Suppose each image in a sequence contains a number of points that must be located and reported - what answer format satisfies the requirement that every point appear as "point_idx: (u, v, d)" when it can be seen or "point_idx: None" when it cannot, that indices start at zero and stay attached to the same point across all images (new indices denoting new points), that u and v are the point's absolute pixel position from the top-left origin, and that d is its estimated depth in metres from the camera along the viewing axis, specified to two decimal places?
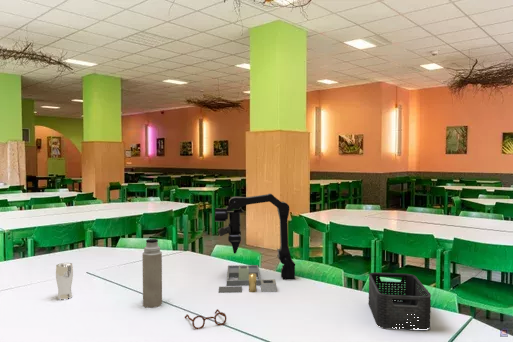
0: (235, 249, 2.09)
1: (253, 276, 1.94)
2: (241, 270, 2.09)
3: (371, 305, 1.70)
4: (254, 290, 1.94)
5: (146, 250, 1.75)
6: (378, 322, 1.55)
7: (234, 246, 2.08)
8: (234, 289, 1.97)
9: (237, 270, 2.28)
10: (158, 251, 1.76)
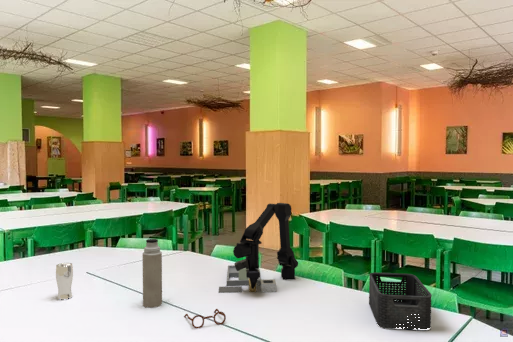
0: (253, 284, 1.93)
1: None
2: (241, 270, 2.09)
3: (371, 305, 1.70)
4: (254, 290, 1.94)
5: (146, 250, 1.75)
6: (379, 322, 1.55)
7: (252, 281, 1.92)
8: (234, 289, 1.97)
9: None
10: (158, 251, 1.76)
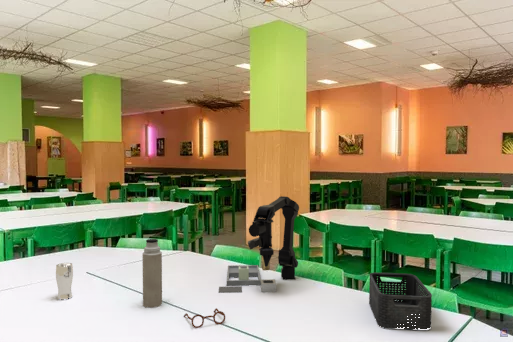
0: (266, 262, 1.95)
1: None
2: (241, 270, 2.09)
3: (372, 305, 1.70)
4: (267, 268, 1.96)
5: (146, 250, 1.75)
6: (379, 322, 1.55)
7: (265, 259, 1.94)
8: (234, 289, 1.97)
9: (237, 270, 2.28)
10: (158, 251, 1.76)
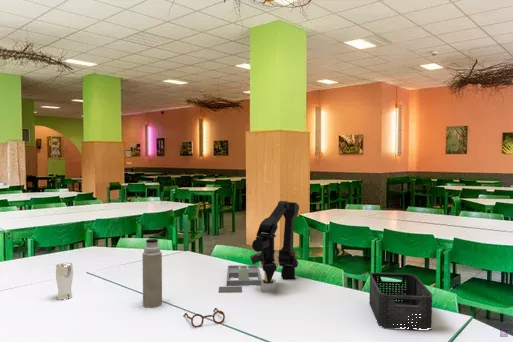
0: (269, 278, 1.93)
1: None
2: (241, 270, 2.09)
3: (372, 305, 1.70)
4: None
5: (146, 250, 1.75)
6: (380, 322, 1.55)
7: (268, 275, 1.93)
8: (234, 289, 1.97)
9: (237, 270, 2.28)
10: (158, 251, 1.76)
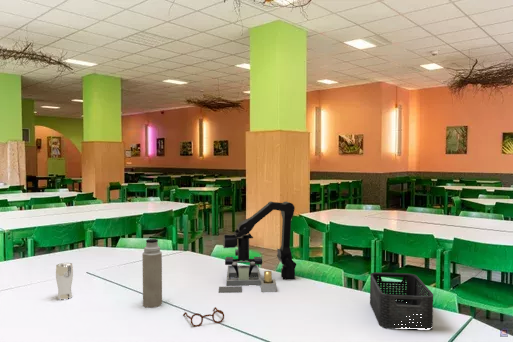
0: None
1: (269, 273, 1.96)
2: (241, 270, 2.09)
3: (373, 305, 1.70)
4: None
5: (146, 250, 1.75)
6: (381, 322, 1.55)
7: None
8: (234, 289, 1.97)
9: None
10: (158, 251, 1.76)
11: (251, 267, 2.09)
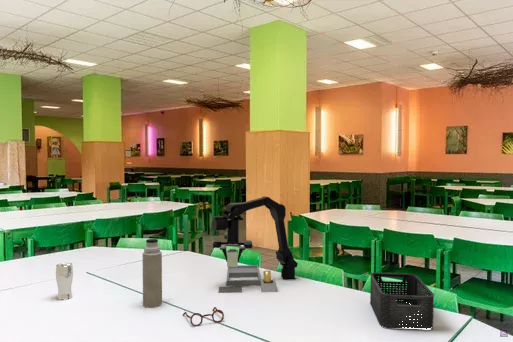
0: (225, 257, 2.00)
1: (268, 272, 1.96)
2: (230, 253, 1.98)
3: (373, 305, 1.70)
4: None
5: (146, 250, 1.75)
6: (381, 322, 1.55)
7: None
8: (234, 289, 1.97)
9: (237, 270, 2.28)
10: (158, 251, 1.76)
11: (240, 251, 1.98)
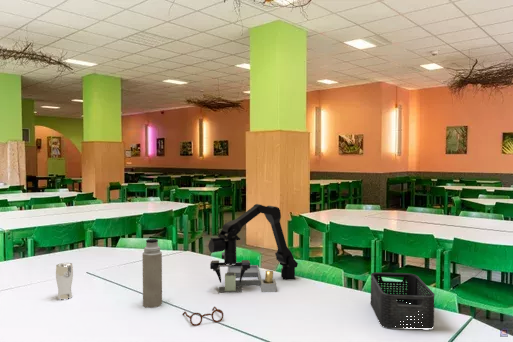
0: None
1: (271, 272, 1.97)
2: (227, 277, 1.95)
3: (374, 305, 1.70)
4: None
5: (146, 250, 1.75)
6: (382, 322, 1.55)
7: None
8: None
9: (237, 270, 2.28)
10: (158, 251, 1.76)
11: (242, 271, 1.95)
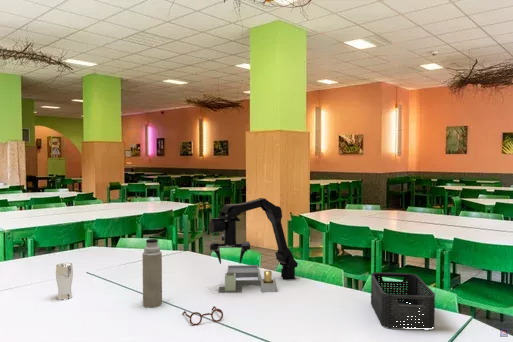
0: None
1: (270, 272, 1.97)
2: (227, 277, 1.95)
3: (374, 305, 1.70)
4: None
5: (146, 250, 1.75)
6: (383, 322, 1.55)
7: None
8: None
9: (237, 270, 2.28)
10: (158, 251, 1.76)
11: (242, 252, 1.95)
